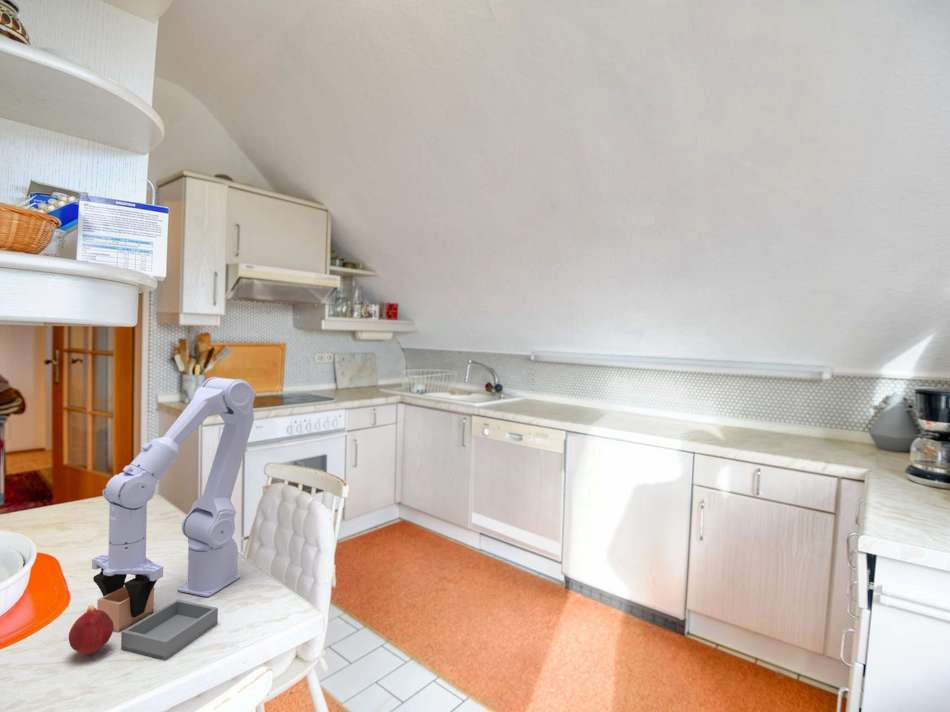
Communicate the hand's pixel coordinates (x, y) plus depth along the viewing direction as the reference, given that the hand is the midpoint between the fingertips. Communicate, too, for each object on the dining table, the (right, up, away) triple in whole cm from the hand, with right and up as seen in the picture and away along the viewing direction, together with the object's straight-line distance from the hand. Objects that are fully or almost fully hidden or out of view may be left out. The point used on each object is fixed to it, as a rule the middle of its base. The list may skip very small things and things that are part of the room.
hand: (126, 611), depth 93 cm
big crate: (+11, -2, -5) cm, 12 cm away
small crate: (0, -1, 0) cm, 1 cm away
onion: (+1, -2, -10) cm, 10 cm away
